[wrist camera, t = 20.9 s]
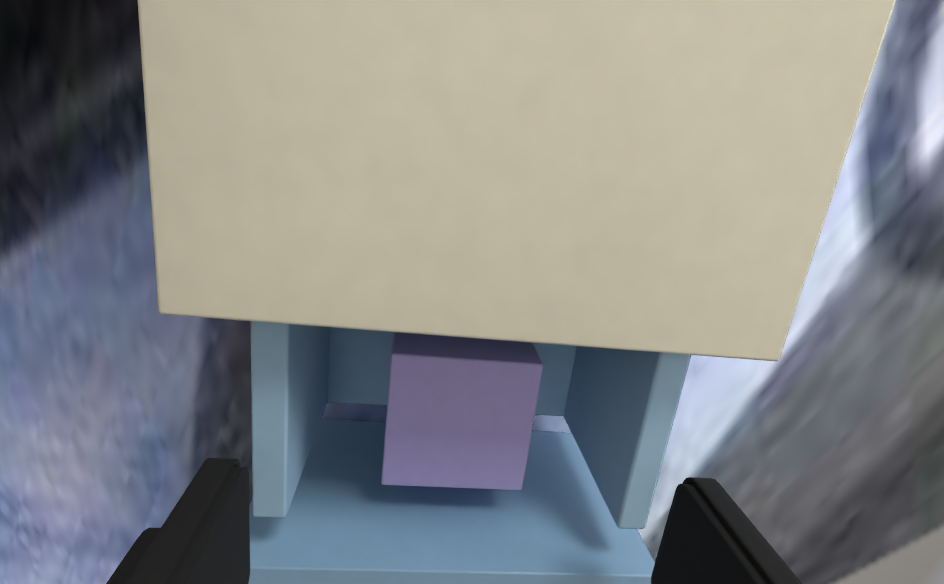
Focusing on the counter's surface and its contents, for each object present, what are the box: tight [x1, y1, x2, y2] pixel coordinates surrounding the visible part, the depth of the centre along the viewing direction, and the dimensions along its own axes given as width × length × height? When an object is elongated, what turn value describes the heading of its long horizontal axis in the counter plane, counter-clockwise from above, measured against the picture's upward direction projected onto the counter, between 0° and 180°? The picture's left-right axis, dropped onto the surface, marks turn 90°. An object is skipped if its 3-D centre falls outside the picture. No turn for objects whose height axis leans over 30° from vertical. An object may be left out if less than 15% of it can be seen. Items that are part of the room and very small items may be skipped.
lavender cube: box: [381, 332, 544, 490], centre depth 16 cm, size 4×4×4 cm
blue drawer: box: [248, 321, 691, 584], centre depth 15 cm, size 18×11×7 cm, turn 173°
